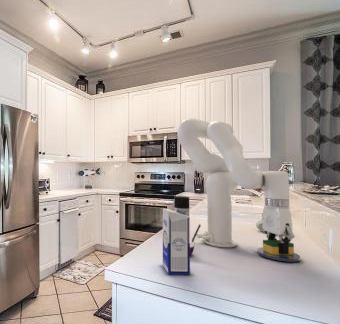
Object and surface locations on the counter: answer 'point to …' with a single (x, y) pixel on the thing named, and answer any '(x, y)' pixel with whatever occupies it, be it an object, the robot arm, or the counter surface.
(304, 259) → the counter surface
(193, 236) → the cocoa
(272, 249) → the sponge
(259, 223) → the air freshener
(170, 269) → the milk carton
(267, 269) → the counter surface
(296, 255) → the plate
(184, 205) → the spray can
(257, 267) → the counter surface
